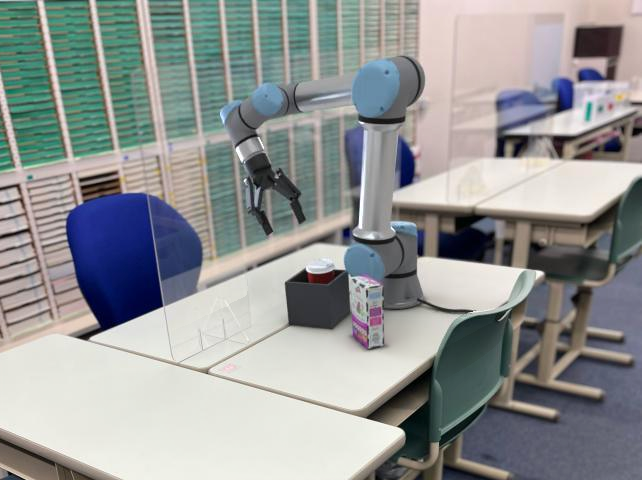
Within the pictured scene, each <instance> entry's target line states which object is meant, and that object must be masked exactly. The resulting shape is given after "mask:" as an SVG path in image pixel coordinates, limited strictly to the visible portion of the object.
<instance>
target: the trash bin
mask: <svg viewBox="0 0 642 480" xmlns="http://www.w3.org/2000/svg"><path fill="white" fill-rule="evenodd" d="M284 291H285V299H286V310H287V311H286V312H287V320H288V321H287V322H288V325H289V326H298V327H306V328H317V329H328V330H332V329H333V328H335V326H337V325H338V324H339V323H340V322H342V320H344V319H345V318H346V317H347V316H348V315H349V314H350V313H351V292H350V274H348V273H347V271H346V269H339V268H338V269H337V268H335V269H334V280H332V281H331V282H330V283H328V284H316V283H309V278H308V272H307V271H306V267H304V268H302V269H301V270H300V271H298V272H297V273H296V274H294V275H292V276H291V277H290V278H288V279H287V280H286V281H284Z"/></svg>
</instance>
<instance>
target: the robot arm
mask: <svg viewBox="0 0 642 480" xmlns="http://www.w3.org/2000/svg"><path fill="white" fill-rule="evenodd" d="M425 86H426V73H425V71H424V68H423V66H422V64H421V63H420V61H418V60H417V59H416V58H414V57H413V56H410V55H404V54H403V55H402V54H401V55H395V56H390V57H382V58H376V59H374V60H371V61H369V62H367V63H364V64H363V65H362V66H361V67H360V68H359V69H358V70H357V72H352V73H347V74H342V75H341V74H340V75H335V76H330V77H329V76H328V77H324V78H318V79H314V80H307V81H303V82H298V83H295V82H293V83H289V84H288V83H287V84H286V85H281V86H277V85H276V84H274V83H271V82H263V84H261V85H260V86H258V87H257V88H256V89H255V90H254V91H253V92H252V93H251V94H250V95H249V96H248V97H247V98H246V99H245V100H244V101H243V100H240V99H237V100H236V99H235V100H233V101H230V102H228V103H227V104H225V105H224V106H223V107H222V108H221V110H220V113H219V115H220V118H221V121H222V124H223V128H224V129H225V131H226V132H227V134H228V137H229V138H230V140H231V143H232V145H233V146H234V149H235V151H236V153H237V155H238V157H239V159H240V162H241V163H242V164H243V168H244V170H245V172H246V174H247V177H246V178H245V179H243V181H242V184H243V187H244V190H245V193H244V194H245V205H246V206H245V207H246V213H247V214H248V215H250V214H251V216H253V217H254V216H255V218H256V221H257V222H258V224H259V226H261V227H262V229H263V231H264V234H265V236H266V237H268V236H270V235H271V234H272V233H274V229H273V227H272V225H271V223H270V221H269V219H268V216H267V214H266V213H265V212H266V211H264V209H262V202H263V196H264V192H266V191H270V190H273V191H276V192H277V193H278V194H280V195H281V196H282V197H284V198H285V199H287V200H288V201H290V203H289V205H290V208H291V209H292V212H293V214H294V216H295V218H296V220H297V222H298V225H301V224H303V223H304V222H306V221H307V219H306V216H305V214H304V212H303V206H302V204H301V202H300V200H299V198H300V197H301V196H302V191H301V190H300V189H299V188H298V187H297V186H296V185H295V184H294V183H293V182H292V181H291V180H290V179H289V177H287V176H286V175H285V173H284V170H283V169H282V168H281V167H278V168H277V169H276V170H273V169H272V162H271V159H270V158H269V156H268V154H267V152H266V149H265V147H264V145H263V142H262V141H261V138H260V135H259V134H258V131H257V130H258V129H259V128H260V127H261V126H263V124H264V123H266V122H268V121H269V120H274V119H278V118H281V117H286V116H290V115H295V114H303V113H310V112H315V111H322V110H330V109H336V108H343V107H351V106H354V107H355V110H356V112H357V113H358V115H357V117H358V118H357V122H358V123H359V124H360V126H361V127H362V128H363V136H362V138H363V139H362V153H361V155H362V157H361V172H360V173H361V176H360V190H359V191H360V195H359V209H358V210H359V211H358V212H359V213H358V224H357V226H355V227H354V229H352V238H351V245H350V246H348V248H347V249H346V250H345V252H344V255H343V266H344V268H345V269H344V270H346V271H347V273H348V274H349V277H350V278H351V277H355V276H360V275H368V276H369V277H371V278H373V279H374V280H376V281H377V282H379V283H380V284H382V285H384V287H383V290H384V310H385V309H386V310H404V309H405V310H406V309H409V308H414V307H416V306H419V305H420V304H423V305H425V306H428V307H431V308H432V309H435V310H438V311H442V312H446V313H461V314H462V313H464V314H465V313H466V314H469V313H468V312H473V311H476V309H474V310H473V309H467V308H466V309H465V308H456V309H455V308H448V307H441V306H438V305H436V304H433V303H431V302H429V301H427V300H424V292H423V288H422V285H421V283H420V279H419V276H418V238H419V235H418V227H417V225H416V223H413V222H410V221H403V220H402V221H400V220H392V214H393V213H392V212H393V201H394V187H395V175H396V165H397V151H398V140H399V139H398V138H399V130H400V128H401V127H402V126H403V125H405V123H406V117H407V108H408V107H411V106H412V105H414V104H415V103H416V102H417V101H418V100H419V99H420V98H421V96H422V94H423V93H424V90H425ZM254 188H255V189H254Z"/></svg>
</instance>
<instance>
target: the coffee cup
mask: <svg viewBox="0 0 642 480" xmlns="http://www.w3.org/2000/svg"><path fill="white" fill-rule="evenodd" d="M305 268H306V271H307V272H308V278H309V283H316V284H328V283H330V282H331V281H332V280H334V269H336V265H335V264H334V261H333V260H332V259H329V258H316V259H313V260H310V261H308V263H307V264H306V267H305Z"/></svg>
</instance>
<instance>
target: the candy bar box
mask: <svg viewBox="0 0 642 480" xmlns="http://www.w3.org/2000/svg"><path fill="white" fill-rule="evenodd" d="M349 280H350V306H351V325H352V327H351V328H352V337H353V338H355V339H356V340H357V341H358V343H360V344H362V346H364V347H365V348H366V349H367V350H371V349H376V348H382V347H384V346H385V308H384V290H383V287H384V285H382V284H380V283H379V282H377V281H376V280H374V279H373V278H371V277H369V276H368V275H360V276H355V277H351V276H350V277H349Z"/></svg>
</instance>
